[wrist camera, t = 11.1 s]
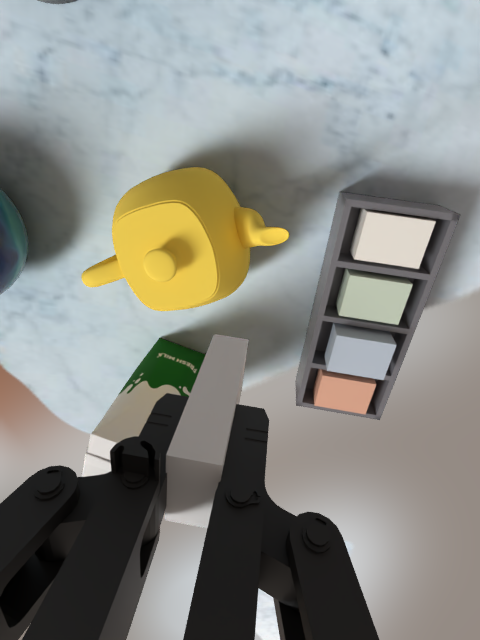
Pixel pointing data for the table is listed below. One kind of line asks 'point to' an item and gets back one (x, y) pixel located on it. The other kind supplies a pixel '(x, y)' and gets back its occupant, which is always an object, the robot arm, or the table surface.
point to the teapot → (182, 240)
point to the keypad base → (342, 258)
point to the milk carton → (142, 399)
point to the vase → (11, 243)
